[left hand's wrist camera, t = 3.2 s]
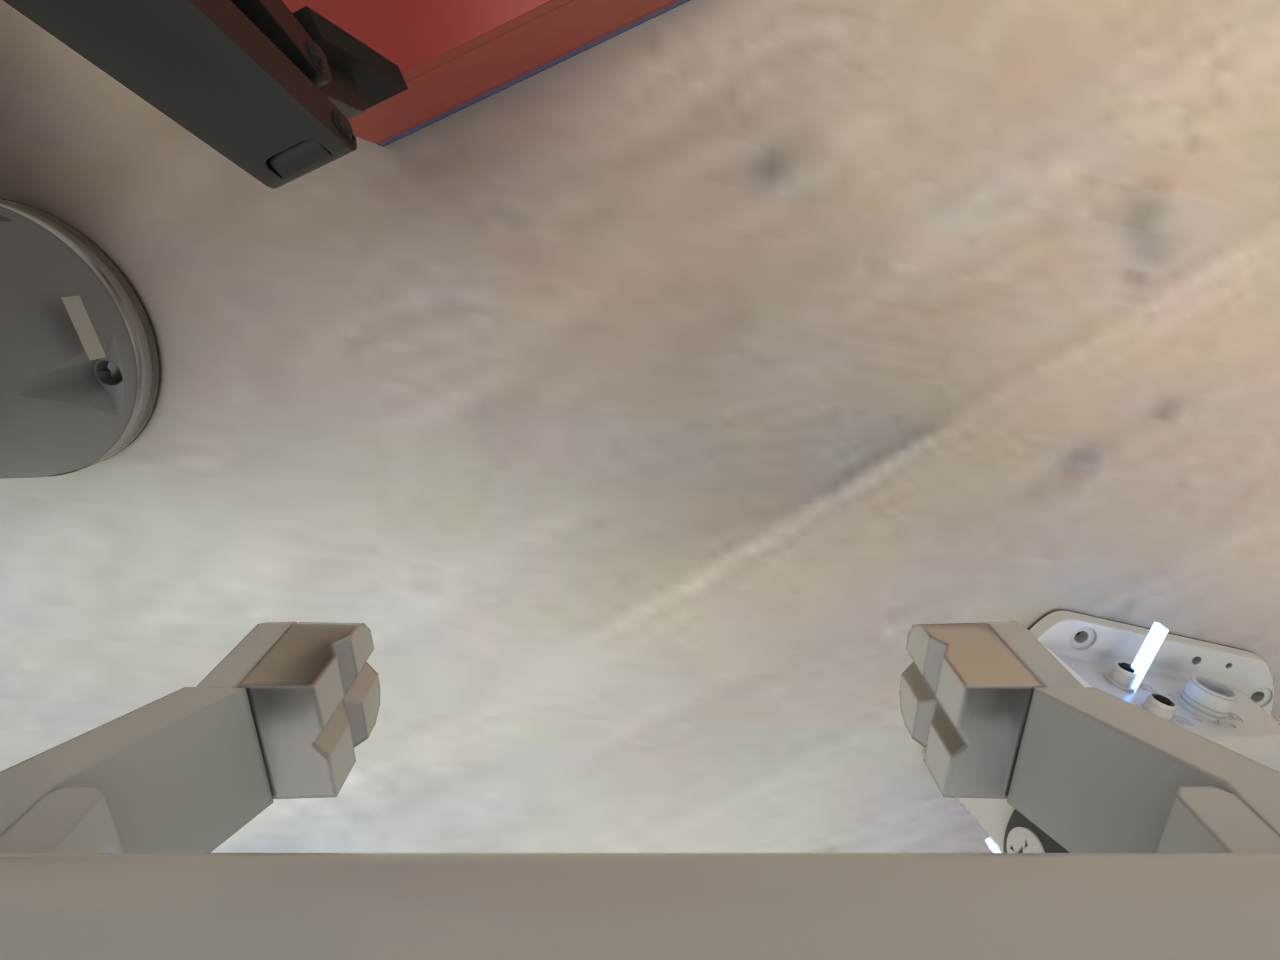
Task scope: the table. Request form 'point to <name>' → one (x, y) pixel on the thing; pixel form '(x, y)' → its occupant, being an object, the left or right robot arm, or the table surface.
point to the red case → (469, 47)
